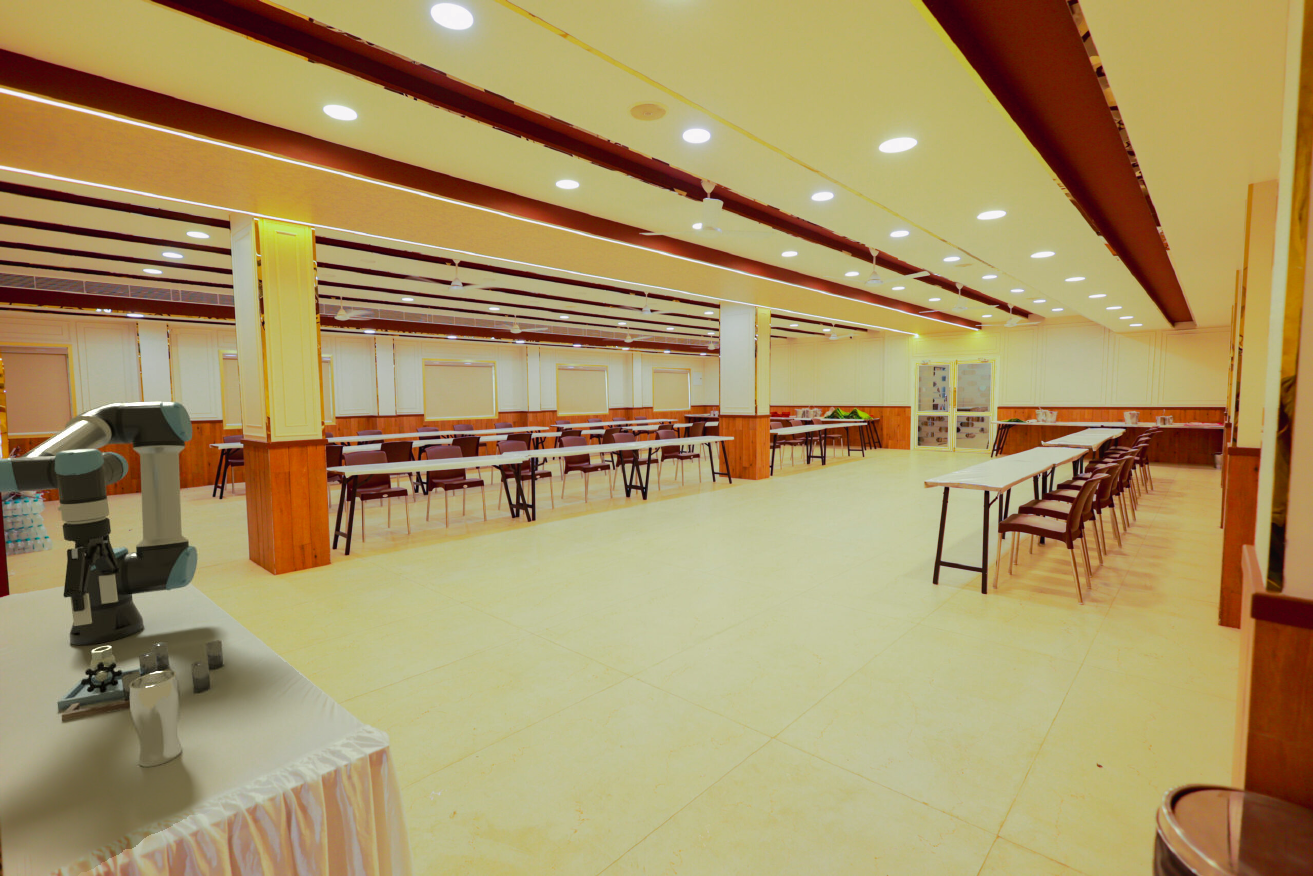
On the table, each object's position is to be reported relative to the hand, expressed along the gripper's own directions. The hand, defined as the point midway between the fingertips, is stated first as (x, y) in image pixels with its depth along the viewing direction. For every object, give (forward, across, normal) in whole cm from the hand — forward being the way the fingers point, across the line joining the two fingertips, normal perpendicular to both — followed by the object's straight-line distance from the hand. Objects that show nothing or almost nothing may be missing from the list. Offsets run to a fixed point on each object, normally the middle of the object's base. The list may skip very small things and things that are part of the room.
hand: (97, 613), depth 133 cm
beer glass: (+18, +37, +20) cm, 45 cm away
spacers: (+18, +1, +14) cm, 23 cm away
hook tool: (+18, +10, +4) cm, 21 cm away
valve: (+16, 0, 0) cm, 17 cm away
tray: (+18, +1, 0) cm, 18 cm away
